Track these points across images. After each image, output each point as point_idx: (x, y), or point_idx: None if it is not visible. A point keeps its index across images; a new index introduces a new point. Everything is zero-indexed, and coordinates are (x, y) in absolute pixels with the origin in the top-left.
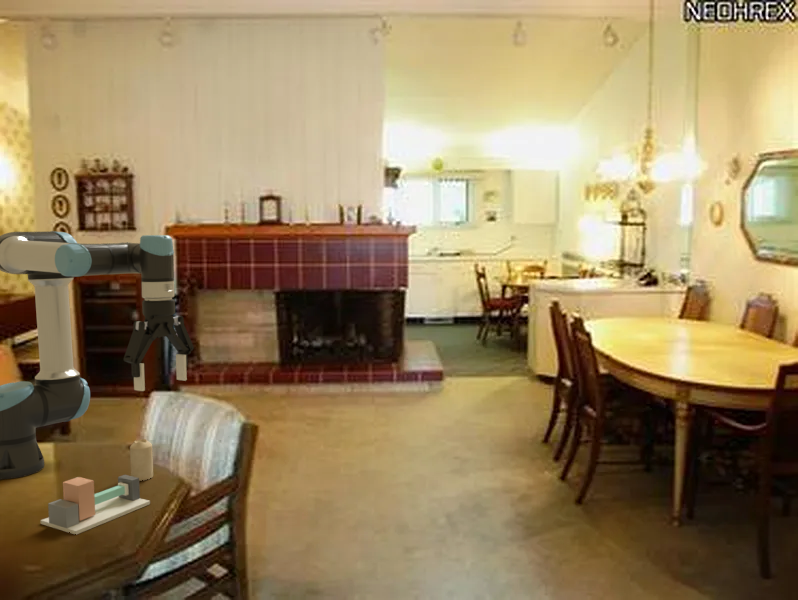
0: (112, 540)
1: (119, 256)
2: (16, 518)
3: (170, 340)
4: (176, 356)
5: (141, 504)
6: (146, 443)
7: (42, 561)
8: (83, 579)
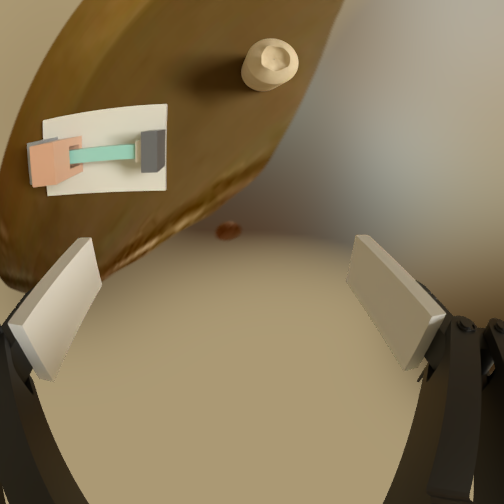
0: (68, 247)
1: None
2: (44, 74)
3: (432, 444)
4: (422, 310)
5: (147, 190)
6: (276, 74)
7: (10, 227)
8: (25, 290)
